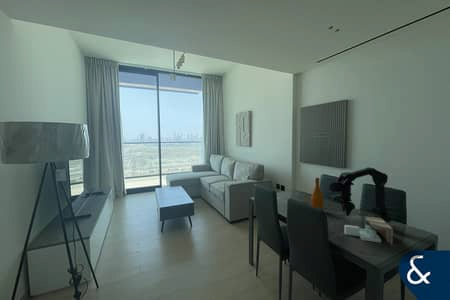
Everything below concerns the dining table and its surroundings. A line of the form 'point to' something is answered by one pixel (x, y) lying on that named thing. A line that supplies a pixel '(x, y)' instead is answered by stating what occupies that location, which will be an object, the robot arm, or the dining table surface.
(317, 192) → the wine bottle
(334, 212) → the dining table surface
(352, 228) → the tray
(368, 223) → the cream wedge slab
